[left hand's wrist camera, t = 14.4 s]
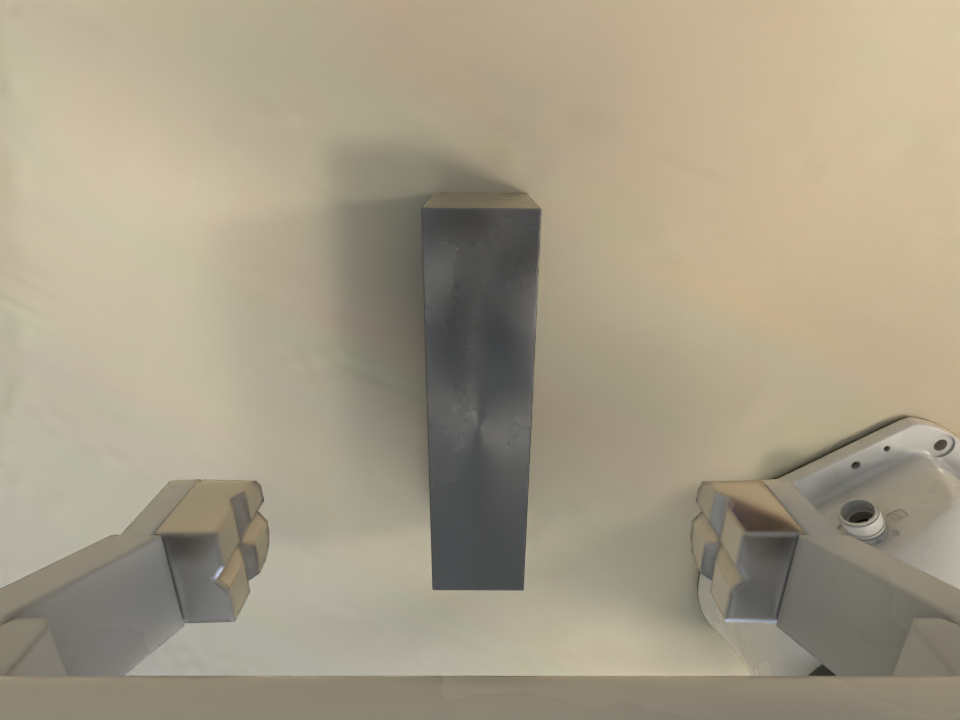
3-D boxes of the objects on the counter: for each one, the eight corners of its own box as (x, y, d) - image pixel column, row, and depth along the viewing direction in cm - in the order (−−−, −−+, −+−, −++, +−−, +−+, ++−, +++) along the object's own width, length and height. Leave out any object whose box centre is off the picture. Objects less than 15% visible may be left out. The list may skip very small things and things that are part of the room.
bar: (434, 192, 33) (421, 207, 25) (527, 193, 33) (541, 208, 25) (441, 508, 41) (432, 590, 34) (515, 509, 41) (523, 590, 34)
